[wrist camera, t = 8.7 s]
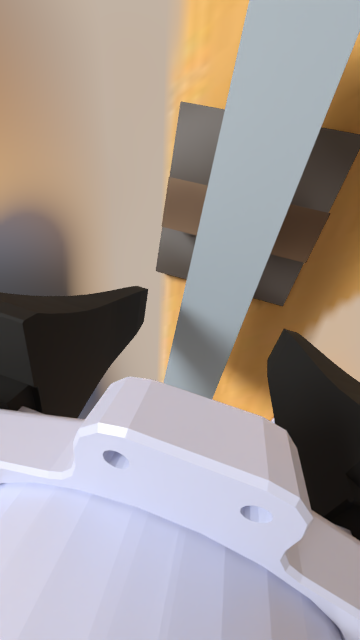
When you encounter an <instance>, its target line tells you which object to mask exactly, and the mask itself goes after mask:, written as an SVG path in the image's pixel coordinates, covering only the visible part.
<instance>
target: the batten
mask: <svg viewBox="0 0 360 640" xmlns="http://www.w3.org/2000/svg"><path fill="white" fill-rule="evenodd" d="M359 32H360V0H249V5H248V9H247V14H246V18H245V23H244V27H243V32H242V36H241V41H240V45H239V49H238V54H237V58H236V63H235V67H234V72H233V76H232V81H231V85H230V90H229V94H228V98H227V103H226V107H225V112H224V116H223V121H222V125H221V130H220V134H219V139H218V143H217V147H216V152H215V156H214V161H213V165H212V170H211V174H210V179H209V183H208V188H207V192H206V197H205V201H204V205H203V210H202V214H201V219H200V223H199V228H198V232H197V237H196V241H195V246H194V250H193V254H192V259H191V263H190V268H189V272H188V277H187V281H186V286H185V290H184V295H183V299H182V303H181V308H180V312H179V317H178V321H177V326H176V330H175V335H174V339H173V344H172V348H171V353H170V357H169V361H168V366H167V370H166V375H165V379H164V383H165V384H168V385H171V386H173V387H176V388H179V389H182V390H185V391H188V392H191V393H194V394H197V395H200V396H203V397H206V398H209V399H212V398H213V395H214V393H215V391H216V388H217V386H218V383H219V381H220V378H221V376H222V373H223V371H224V368H225V366H226V363H227V361H228V358H229V356H230V353H231V351H232V348H233V346H234V343H235V341H236V338H237V336H238V333H239V331H240V328H241V326H242V323H243V321H244V318H245V316H246V313H247V311H248V308H249V306H250V303H251V301H252V298H253V296H254V293H255V291H256V288H257V286H258V283H259V281H260V278H261V276H262V273H263V271H264V268H265V266H266V263H267V261H268V258H269V256H270V253H271V251H272V248H273V246H274V243H275V241H276V238H277V236H278V233H279V231H280V228H281V226H282V223H283V221H284V218H285V216H286V214H287V211H288V209H289V206H290V204H291V201H292V199H293V196H294V194H295V191H296V189H297V186H298V184H299V181H300V179H301V176H302V174H303V171H304V169H305V166H306V164H307V161H308V159H309V156H310V154H311V151H312V149H313V146H314V144H315V141H316V139H317V136H318V134H319V131H320V129H321V126H322V124H323V121H324V119H325V116H326V114H327V111H328V109H329V106H330V104H331V101H332V99H333V96H334V94H335V91H336V89H337V86H338V84H339V81H340V79H341V76H342V74H343V71H344V69H345V66H346V64H347V61H348V59H349V56H350V54H351V51H352V49H353V46H354V44H355V41H356V39H357V36H358V34H359Z"/></svg>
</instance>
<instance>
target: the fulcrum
mask: <svg viewBox="0 0 360 640" xmlns="http://www.w3.org/2000/svg"><path fill="white" fill-rule="evenodd" d="M224 112H225V110H224V109H219V108H213V107H208V106H203V105H197V104H192V103H186V102H181V103H180V110H179V117H178V124H177V131H176V137H175V144H174V151H173V158H172V164H171V171H170V177H169V180H168V187H167V194H166V201H165V208H164V214H163V221H162V232H161V239H160V247H159V253H158V259H157V267H156V271H158V272H161V273H165V274H168V275H172V276H175V277H179V278H183V279H186V280H187V277H188V272H189V268H190V263H191V259H192V254H193V250H194V246H195V241H196V237H197V232H198V228H199V223H200V219H201V214H202V210H203V205H204V201H205V197H206V192H207V188H208V183H209V179H210V174H211V170H212V165H213V161H214V156H215V152H216V147H217V143H218V139H219V134H220V130H221V125H222V121H223V116H224ZM359 150H360V134H354V133H349V132H343V131H338V130H333V129H327V128H322V127H321V129H320V131H319V134H318V136H317V139H316V141H315V144H314V146H313V149H312V151H311V154H310V156H309V159H308V161H307V164H306V166H305V169H304V171H303V174H302V176H301V179H300V181H299V184H298V186H297V189H296V191H295V194H294V196H293V199H292V201H291V204H290V206H289V209H288V211H287V214H286V216H285V218H284V221H283V223H282V226H281V228H280V231H279V233H278V236H277V238H276V241H275V243H274V246H273V248H272V251H271V253H270V256H269V258H268V261H267V263H266V266H265V268H264V271H263V273H262V276H261V278H260V281H259V283H258V286H257V288H256V291H255V293H254V296H253V298H255V299H258V300H262V301H265V302H269V303H273V304H276V305H280V306H283V305H284V303H285V301H286V299H287V297H288V295H289V293H290V291H291V288H292V286H293V284H294V282H295V280H296V278H297V276H298V274H299V272H300V270H301V268H302V266H303V264H304V263H306V262H307V260H308V258H309V256H310V254H311V252H312V250H313V248H314V246H315V244H316V242H317V240H318V238H319V235H320V233H321V231H322V229H323V227H324V225H325V223H326V221H327V219H328V217H329V215H330V213H329V211H330V209H331V207H332V205H333V203H334V201H335V199H336V197H337V194H338V192H339V190H340V188H341V186H342V184H343V182H344V180H345V178H346V176H347V174H348V172H349V170H350V168H351V166H352V164H353V162H354V160H355V158H356V156H357V154H358V152H359Z"/></svg>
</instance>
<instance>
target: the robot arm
mask: <svg viewBox="0 0 360 640" xmlns="http://www.w3.org/2000/svg"><path fill="white" fill-rule="evenodd" d="M147 294H148V289H145V288H142V287H139V286H133V287H127V288H122V289H117V290H112V291H107V292H101V293H95V294H88V295H77V296H29V295H17V294H8V293H0V640H360V382H358V381H357V380H356V379H354V378H353V377H351V376H350V375H349V374H347V373H346V372H345V371H343V370H342V369H341V368H339V367H338V366H337V365H336V364H334V363H333V362H332V361H331V360H330V359H328V358H327V357H326V356H325V355H324V354H322V353H321V352H320V351H319V350H318V349H317V348H315V347H314V346H313V345H312V344H311V343H310V342H309V341H307V340H306V339H305V338H304V337H302V336H301V335H300V334H298V333H296V332H293V331H290V330H286V329H284V330H283V331H282V333H281V335H280V337H279V339H278V341H277V343H276V345H275V347H274V349H273V350H272V352H271V354H270V356H269V358H268V360H267V377H268V384H269V390H270V396H271V402H272V407H273V413H274V418H273V419H272V420H271V421H269V420H267V419H265V418H264V417H262V416H259V415H256V414H253V413H250V412H247V411H244V410H241V409H238V408H235V407H232V406H230V405H227V404H224V403H221V402H218V401H215V400H212V399H209V398H206V397H203V396H200V395H197V394H194V393H191V392H188V391H185V390H182V389H179V388H176V387H173V386H171V385H168V384H165V383H162V382H159V381H156V380H152V379H144V378H136V377H126V378H124V379H121V380H119V381H116V382H114V383H112V384H111V385H110V386H109V387H108V389H107V390H106V392H105V393H104V394H103V396H102V397H101V399H100V400H99V401H98V403H97V404H96V405H95V407H94V408H93V410H92V411H91V412H90V414H89V415H88V416H87V418H86V419H78V416H79V415H80V413H81V411H82V409H83V408H84V406H85V404H86V402H87V401H88V399H89V398H90V396H91V394H92V393H93V391H94V390H95V388H96V386H97V385H98V383H99V382H100V380H101V379H102V377H103V375H104V374H105V373H106V371H107V370H108V368H109V367H110V365H111V364H112V363H113V362H114V360H115V359H116V358H117V357H118V355H119V354H120V353H121V352H122V351H123V350H124V349H125V347H126V346H127V345H128V344H129V342H130V341H131V340H132V339H133V338H134V336H135V335H136V334H137V332H138V331H139V329H140V327H141V325H142V324H143V322H144V316H145V309H146V301H147Z"/></svg>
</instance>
